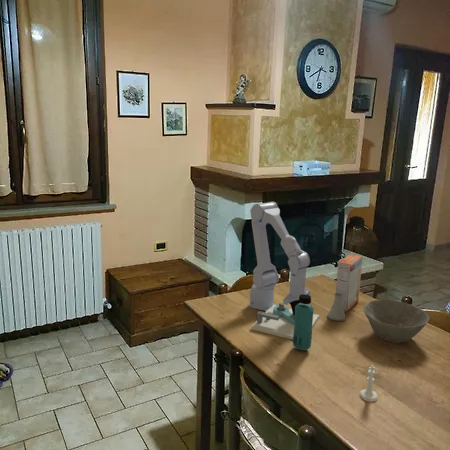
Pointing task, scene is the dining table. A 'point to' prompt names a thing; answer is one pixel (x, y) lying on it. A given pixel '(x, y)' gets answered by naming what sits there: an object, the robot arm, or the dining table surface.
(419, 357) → the dining table surface
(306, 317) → the beverage bottle
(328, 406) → the dining table surface
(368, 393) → the chess piece
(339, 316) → the flask
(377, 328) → the ceramic bowl
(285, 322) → the board
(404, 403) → the dining table surface
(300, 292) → the robot arm
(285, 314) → the link
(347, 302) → the cracker box
